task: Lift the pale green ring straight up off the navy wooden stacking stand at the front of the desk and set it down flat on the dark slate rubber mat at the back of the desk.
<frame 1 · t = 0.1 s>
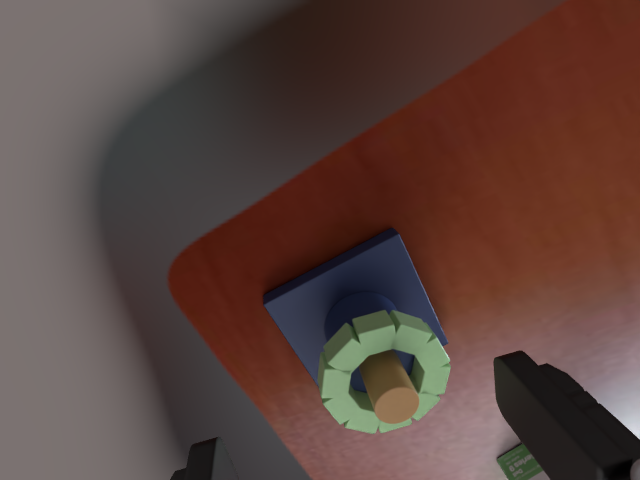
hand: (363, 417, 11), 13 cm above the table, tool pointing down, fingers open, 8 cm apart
stand: (357, 315, 26), on the table
ring: (379, 364, 21), point 5 cm above the table, touching stand
ink box: (534, 468, 34), on the table
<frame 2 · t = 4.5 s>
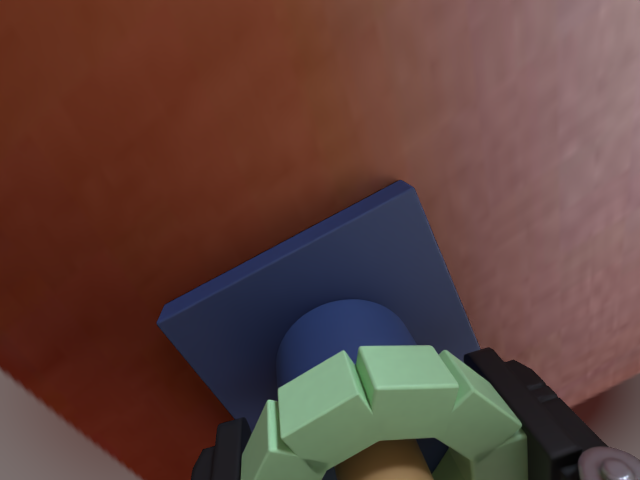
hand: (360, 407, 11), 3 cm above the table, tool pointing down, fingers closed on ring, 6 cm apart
stand: (338, 339, 15), on the table
ring: (375, 452, 10), point 5 cm above the table, touching gripper, stand
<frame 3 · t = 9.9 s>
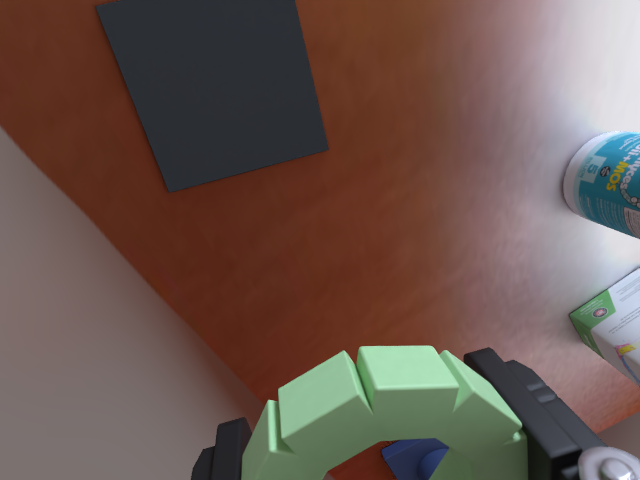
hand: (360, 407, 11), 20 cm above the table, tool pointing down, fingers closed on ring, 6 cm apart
pill bottle: (596, 174, 33), on the table
stand: (434, 455, 42), on the table
mat: (223, 85, 26), on the table
ring: (376, 452, 10), point 22 cm above the table, touching gripper
ink box: (611, 305, 39), on the table
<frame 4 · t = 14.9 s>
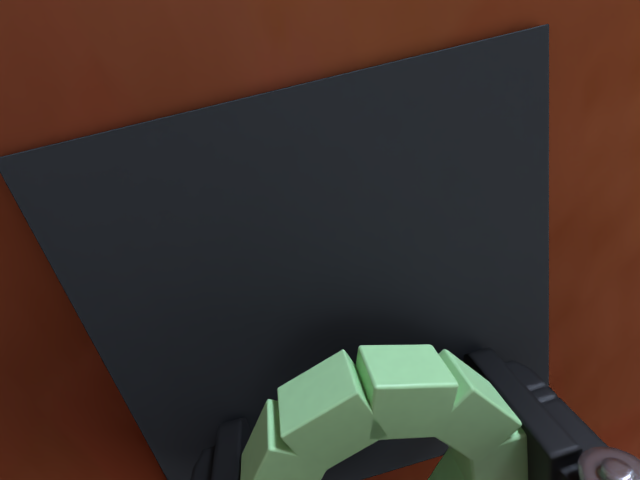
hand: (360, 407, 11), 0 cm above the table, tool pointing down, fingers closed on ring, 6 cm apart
mat: (337, 319, 11), on the table
ring: (375, 451, 10), point 2 cm above the table, touching gripper
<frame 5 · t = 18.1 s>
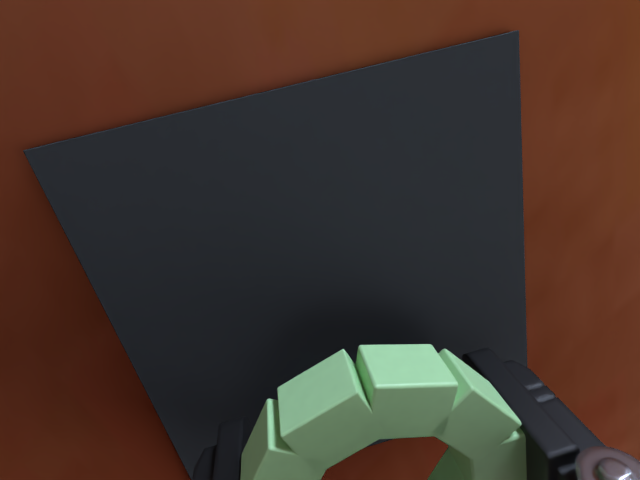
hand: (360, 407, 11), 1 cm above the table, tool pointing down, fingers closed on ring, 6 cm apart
mat: (331, 299, 12), on the table
ring: (375, 451, 10), point 3 cm above the table, touching gripper
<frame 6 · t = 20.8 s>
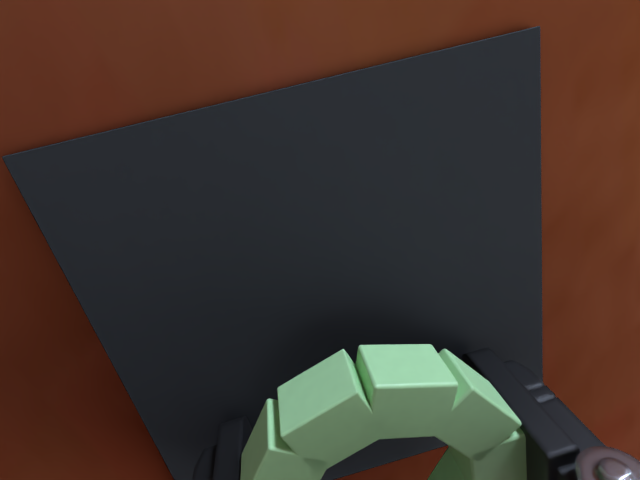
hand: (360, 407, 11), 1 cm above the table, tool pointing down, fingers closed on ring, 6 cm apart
mat: (336, 314, 11), on the table
ring: (375, 451, 10), point 2 cm above the table, touching gripper
when the fingers open (1 cm above the table, at t = 26.4 s): ring drops 3 cm, resting on mat.
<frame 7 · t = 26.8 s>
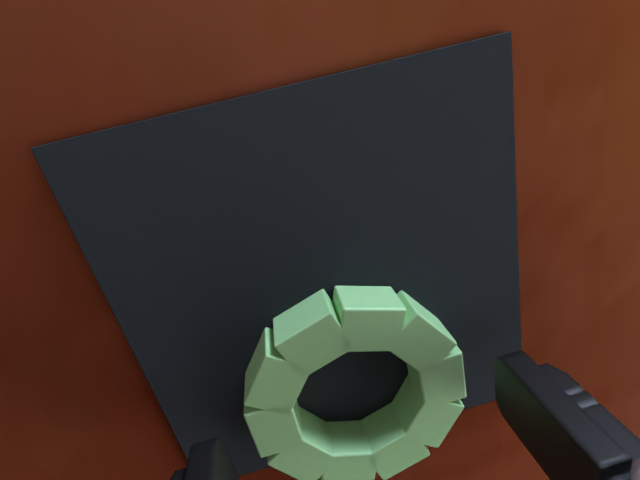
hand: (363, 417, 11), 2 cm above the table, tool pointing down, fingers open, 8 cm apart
mat: (329, 293, 12), on the table
ring: (350, 374, 13), resting on mat
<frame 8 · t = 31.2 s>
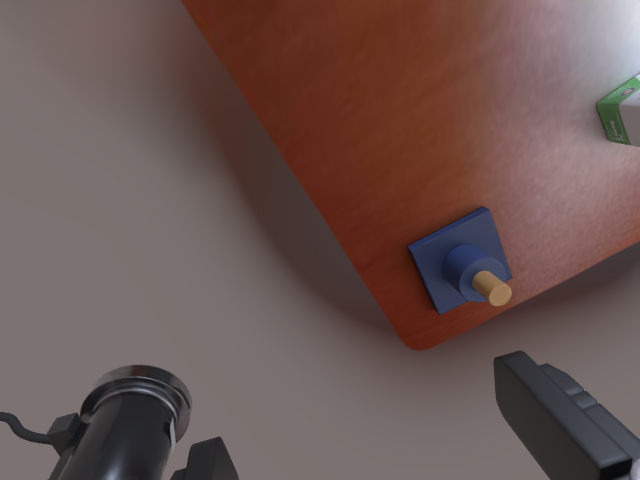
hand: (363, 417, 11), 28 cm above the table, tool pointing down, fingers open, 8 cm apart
stand: (458, 260, 43), on the table
ink box: (637, 99, 39), on the table
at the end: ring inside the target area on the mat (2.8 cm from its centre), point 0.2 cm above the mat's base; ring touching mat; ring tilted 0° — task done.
